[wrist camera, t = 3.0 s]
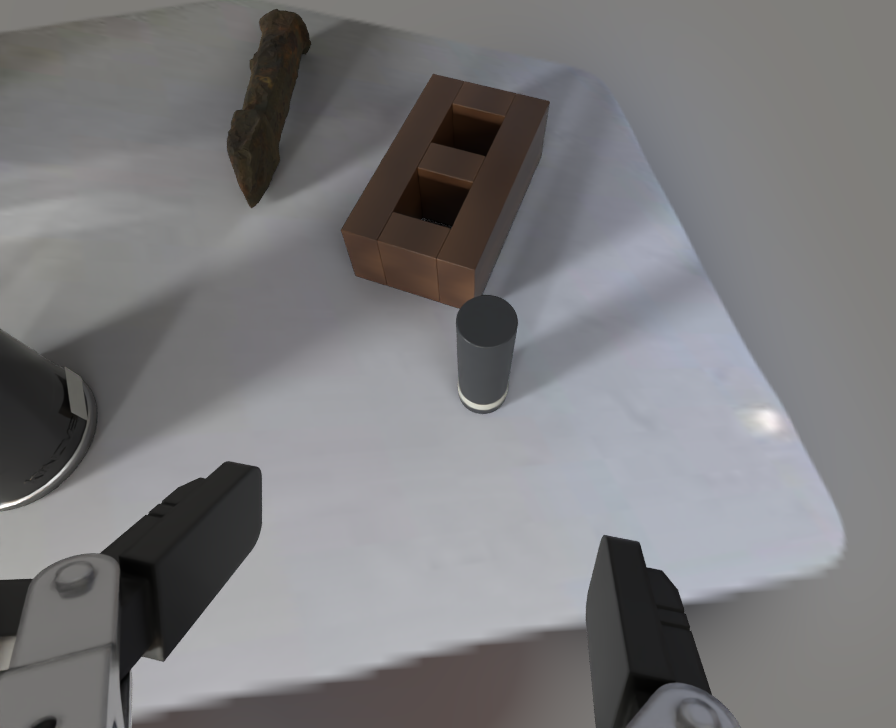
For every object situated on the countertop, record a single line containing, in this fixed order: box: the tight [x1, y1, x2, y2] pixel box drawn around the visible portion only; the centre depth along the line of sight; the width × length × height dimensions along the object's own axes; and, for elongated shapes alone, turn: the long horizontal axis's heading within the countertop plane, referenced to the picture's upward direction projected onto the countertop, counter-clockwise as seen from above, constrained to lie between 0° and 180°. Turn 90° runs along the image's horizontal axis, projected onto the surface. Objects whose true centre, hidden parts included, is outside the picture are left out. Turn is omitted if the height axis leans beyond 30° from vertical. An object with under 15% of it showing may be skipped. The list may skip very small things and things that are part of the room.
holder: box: [341, 74, 550, 309], centre depth 39 cm, size 9×16×5 cm, turn 159°
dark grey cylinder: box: [456, 295, 518, 414], centre depth 31 cm, size 3×3×9 cm
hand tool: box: [227, 9, 311, 208], centre depth 44 cm, size 19×4×5 cm, turn 176°
